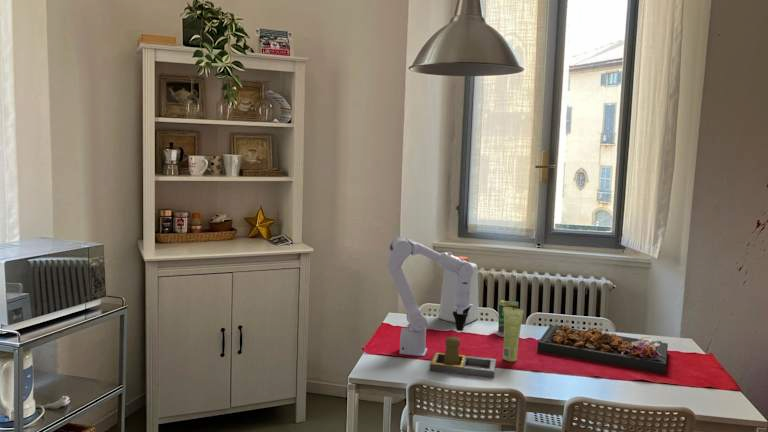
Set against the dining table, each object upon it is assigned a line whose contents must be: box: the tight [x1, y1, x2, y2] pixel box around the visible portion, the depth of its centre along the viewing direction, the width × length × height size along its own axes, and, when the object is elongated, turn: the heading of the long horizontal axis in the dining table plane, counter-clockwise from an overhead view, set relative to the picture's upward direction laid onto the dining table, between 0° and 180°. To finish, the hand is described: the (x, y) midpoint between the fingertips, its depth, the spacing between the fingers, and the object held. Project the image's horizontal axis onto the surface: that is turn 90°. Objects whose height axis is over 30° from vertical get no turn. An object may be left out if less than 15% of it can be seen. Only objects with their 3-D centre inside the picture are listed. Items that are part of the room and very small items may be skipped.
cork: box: [442, 336, 461, 365], centre depth 220 cm, size 6×6×11 cm
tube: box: [502, 307, 525, 362], centre depth 229 cm, size 6×5×20 cm
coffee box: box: [497, 299, 519, 333], centre depth 261 cm, size 8×3×13 cm, turn 70°
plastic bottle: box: [438, 255, 479, 325], centre depth 277 cm, size 15×15×28 cm
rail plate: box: [429, 352, 497, 379], centre depth 220 cm, size 22×12×3 cm, turn 77°
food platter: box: [536, 324, 669, 375], centre depth 240 cm, size 45×25×10 cm, turn 64°
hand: (460, 327), depth 236 cm, fingers open, 7 cm apart
